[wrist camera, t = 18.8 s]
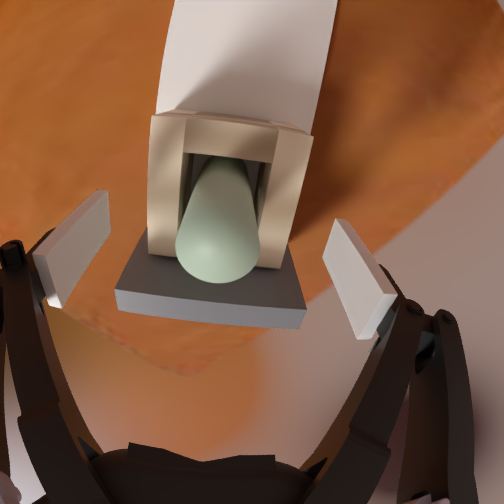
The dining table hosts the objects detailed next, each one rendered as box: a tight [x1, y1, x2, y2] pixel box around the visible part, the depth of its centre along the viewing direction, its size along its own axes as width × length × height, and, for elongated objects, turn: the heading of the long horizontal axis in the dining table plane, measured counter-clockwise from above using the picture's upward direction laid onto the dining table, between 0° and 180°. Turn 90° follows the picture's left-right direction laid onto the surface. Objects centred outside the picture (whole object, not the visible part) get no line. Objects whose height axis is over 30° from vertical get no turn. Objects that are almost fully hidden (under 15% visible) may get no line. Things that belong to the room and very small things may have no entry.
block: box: [147, 110, 314, 269], centre depth 20 cm, size 10×10×6 cm
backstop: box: [114, 0, 338, 329], centre depth 16 cm, size 26×13×11 cm, turn 170°
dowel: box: [175, 155, 260, 283], centre depth 18 cm, size 4×4×12 cm
